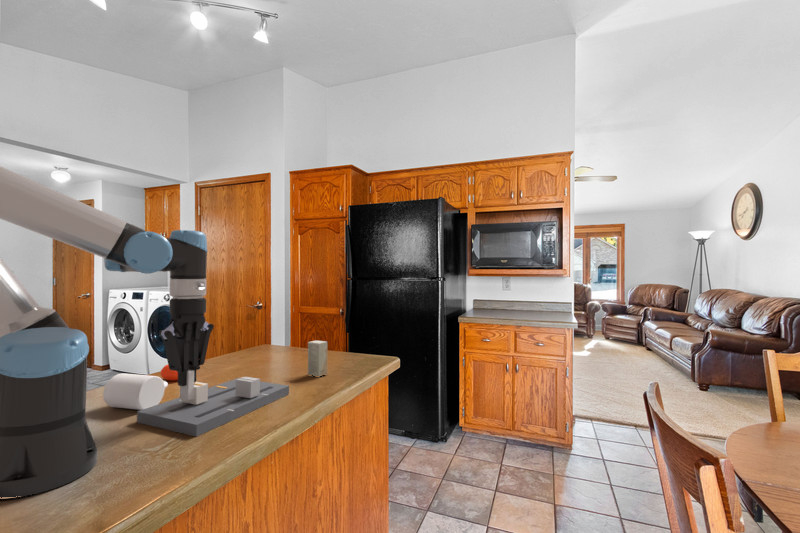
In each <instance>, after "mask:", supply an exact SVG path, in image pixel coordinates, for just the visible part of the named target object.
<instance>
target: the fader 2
mask: <svg viewBox="0 0 800 533" xmlns="http://www.w3.org/2000/svg"><path fill="white" fill-rule="evenodd" d="M238 378H239V379H237V378H235V379H236V393H235V396H240V397H246V398H253V397H255V396H257V395H260V381H261V378H258V377H250V376H242V377H238Z"/></svg>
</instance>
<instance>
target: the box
mask: <svg viewBox="0 0 800 533" xmlns="http://www.w3.org/2000/svg"><path fill="white" fill-rule="evenodd" d="M324 374H327V375H328V341H326V340H324V341H323V340H313V341H308V342H307V376H308V375H313V376H321V375H324ZM313 376H312V377H313Z"/></svg>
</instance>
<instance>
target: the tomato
mask: <svg viewBox="0 0 800 533" xmlns="http://www.w3.org/2000/svg"><path fill="white" fill-rule="evenodd" d="M160 376H161V377H162V379H164V380H165V381H171V382H172V381H173V382H174V381H175V382H176V381H178V372H177V371H173V370H170V369H169V365H168V364H165V365H164V366H163V367H162V369H160Z"/></svg>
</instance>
